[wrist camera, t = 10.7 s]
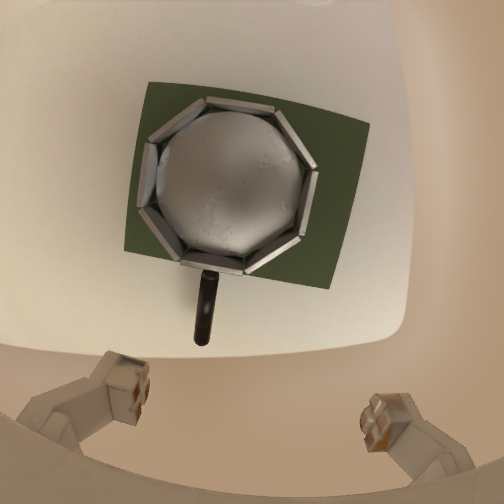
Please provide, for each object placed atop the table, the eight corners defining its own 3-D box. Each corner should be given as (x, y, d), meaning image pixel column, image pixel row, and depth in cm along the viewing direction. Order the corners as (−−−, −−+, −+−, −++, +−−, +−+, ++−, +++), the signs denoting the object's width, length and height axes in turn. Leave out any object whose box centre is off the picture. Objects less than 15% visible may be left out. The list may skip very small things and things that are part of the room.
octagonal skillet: (169, 100, 23) (152, 90, 19) (317, 125, 24) (330, 118, 19) (145, 309, 29) (129, 333, 25) (270, 332, 30) (273, 360, 25)
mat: (369, 123, 24) (370, 123, 24) (328, 289, 28) (328, 289, 28) (149, 81, 23) (148, 81, 22) (124, 250, 27) (124, 250, 27)
